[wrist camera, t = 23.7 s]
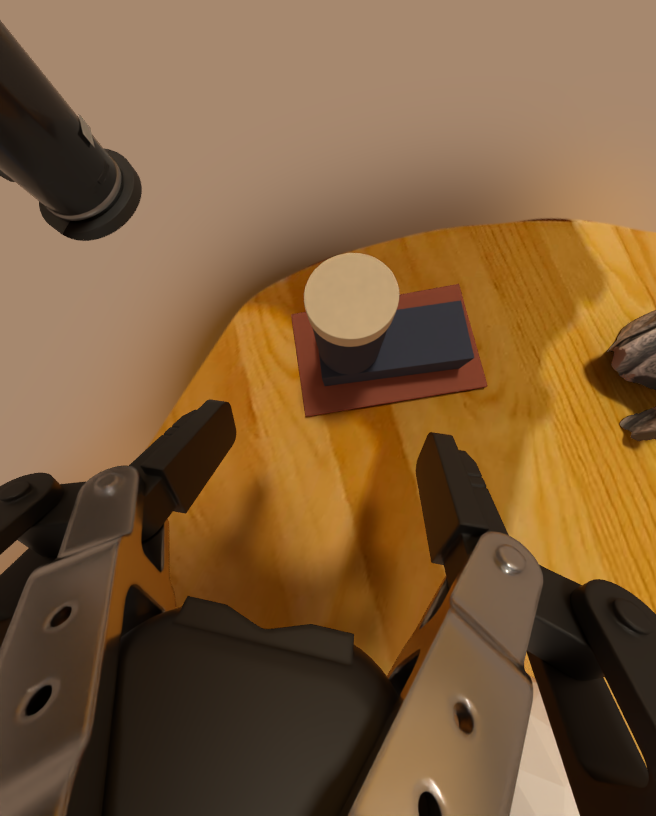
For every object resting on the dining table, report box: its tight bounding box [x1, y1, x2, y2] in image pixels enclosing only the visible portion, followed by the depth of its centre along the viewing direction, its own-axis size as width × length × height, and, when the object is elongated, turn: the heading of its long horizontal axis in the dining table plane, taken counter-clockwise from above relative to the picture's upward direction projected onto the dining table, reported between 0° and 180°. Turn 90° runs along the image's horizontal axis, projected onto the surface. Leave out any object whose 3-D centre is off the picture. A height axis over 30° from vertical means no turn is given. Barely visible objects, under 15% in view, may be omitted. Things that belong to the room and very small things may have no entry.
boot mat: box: [291, 284, 487, 417], centre depth 22 cm, size 16×10×1 cm, turn 99°
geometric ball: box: [510, 675, 580, 816], centre depth 14 cm, size 8×8×8 cm
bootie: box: [304, 253, 474, 386], centre depth 17 cm, size 12×5×9 cm, turn 97°
